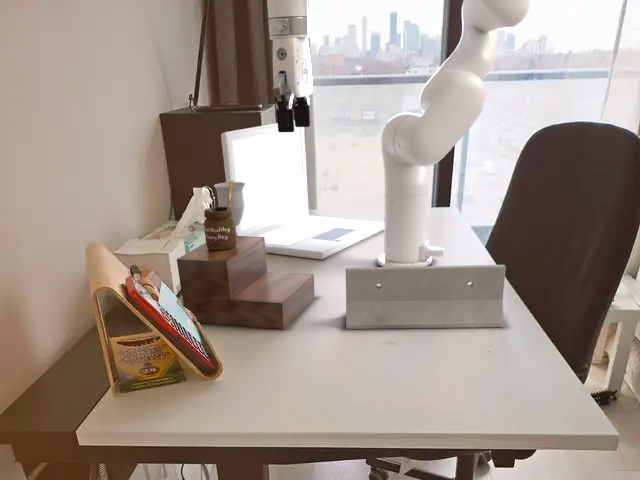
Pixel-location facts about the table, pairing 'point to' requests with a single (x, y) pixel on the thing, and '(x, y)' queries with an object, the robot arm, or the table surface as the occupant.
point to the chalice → (232, 199)
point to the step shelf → (241, 287)
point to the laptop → (284, 195)
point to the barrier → (425, 297)
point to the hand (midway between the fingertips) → (294, 129)
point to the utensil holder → (220, 226)
